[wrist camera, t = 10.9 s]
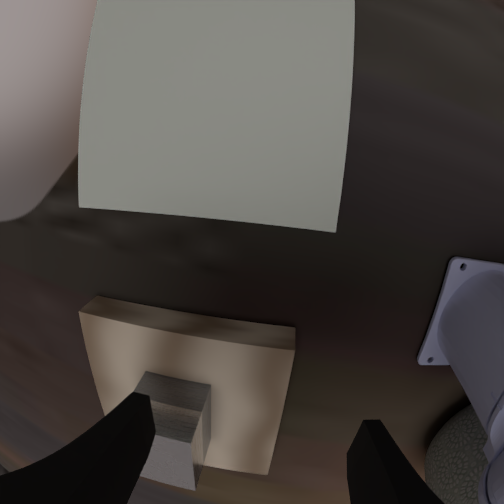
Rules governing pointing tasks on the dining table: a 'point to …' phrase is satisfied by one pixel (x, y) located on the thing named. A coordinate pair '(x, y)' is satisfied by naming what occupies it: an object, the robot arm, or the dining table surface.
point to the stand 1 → (218, 109)
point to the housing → (177, 429)
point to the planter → (457, 458)
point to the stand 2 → (197, 370)
